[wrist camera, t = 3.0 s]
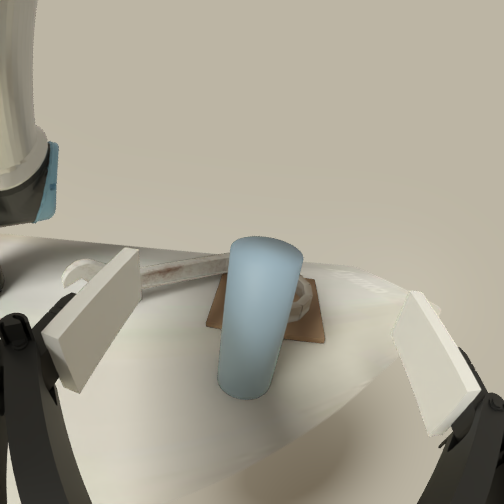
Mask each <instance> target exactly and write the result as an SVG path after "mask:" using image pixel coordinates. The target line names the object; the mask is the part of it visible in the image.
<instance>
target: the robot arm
mask: <svg viewBox="0 0 504 504" xmlns="http://www.w3.org/2000/svg"><path fill="white" fill-rule="evenodd" d="M37 1H38V0H0V227H6V226H12V225H18V224H25V223H36V222H37V221H42V220H47V219H50V218H51V217H52V216H53V215H54V213H55V210H56V183H57V167H58V151H59V146H58V144H57V143H53V142H47V138H46V135H45V132H43V130H42V129H41V128H40V127H38V126H37V125H35V118H34V105H33V81H32V78H33V76H32V64H33V39H34V26H35V16H36V8H37ZM3 285H4V276H3V273H2V269H1V266H0V291H1V289H2V287H3ZM141 299H142V293H141V279H140V262H139V249H133V248H127V247H125V248H123V249H122V250H121V251H120V252H119V253H118V254H117V255H116V256H115V257H114V258H113V259H112V260H111V261H110V262H109V263H107V264H106V265H105V266H104V267H103V268H102V269H101V270H100V271H99V272H98V273H97V274H96V275H95V276H94V277H93V278H92V279H91V280H90V281H89V282H88V283H87V284H86V285H85V286H84V287H83V288H82V289H81V290H80V291H79V292H78V293H77V294H75V293H70V294H68V295H66V296H64V297H62V298H61V299H60V300H59V301H58V302H57V303H56V304H55V305H54V307H52V308H51V309H50V310H49V313H48V312H47V313H46V314H45V315H44V316H43V318H42V319H41V320H40V321H39V322H38V323H37V324H36V325H35V326H34V327H33V328H32V329H31V327H30V324H29V321H28V318H27V317H26V316H25V315H24V314H21V313H12V314H9V315H6V316H5V317H3V318H2V319H1V320H0V338H1V340H0V504H7V493H6V470H7V449H8V443H9V450H10V456H11V461H12V467H13V472H14V476H15V481H16V485H17V489H18V493H19V497H20V500H21V504H92V502H91V500H90V497H89V495H88V493H87V490H86V488H85V485H84V483H83V480H82V477H81V475H80V472H79V469H78V466H77V463H76V460H75V457H74V454H73V451H72V448H71V444H70V441H69V438H68V434H67V430H66V427H65V423H64V419H63V415H62V410H61V406H60V401H59V397H58V392H57V388H56V386H55V382H56V381H57V379H58V378H60V380H61V382H62V385H63V387H65V388H67V389H69V390H72V391H74V392H76V393H79V394H80V392H81V391H82V389H83V387H84V386H85V384H86V383H87V381H88V379H89V378H90V376H91V374H92V373H93V371H94V370H95V368H96V366H97V365H98V363H99V362H100V360H101V359H102V357H103V355H104V354H105V352H106V351H107V349H108V348H109V346H110V345H111V343H112V342H113V340H114V338H115V337H116V335H117V334H118V332H119V331H120V329H121V328H122V326H123V325H124V323H125V322H126V320H127V319H128V318H129V316H130V315H131V313H132V312H133V310H134V309H135V307H136V306H137V304H138V303H139V302H140V300H141ZM391 337H392V339H393V341H394V344H395V346H396V349H397V351H398V354H399V356H400V359H401V361H402V364H403V366H404V369H405V371H406V374H407V377H408V379H409V382H410V385H411V387H412V390H413V393H414V395H415V398H416V401H417V404H418V407H419V409H420V413H421V416H422V419H423V422H424V425H425V428H426V431H427V434H428V437H430V436H436V435H442V434H443V433H444V432H445V431H446V430H447V429H448V428H449V427H450V426H451V427H452V430H453V432H452V433H451V434H450V435H449V436H448V437H447V438H446V439H445V440H444V441H443V442H442V443H441V444H440V445H439V448H441V447H442V446H443V445H444V444H445V447H444V449H443V452H442V454H441V457H440V459H439V461H438V463H437V466H436V468H435V470H434V472H433V474H432V476H431V478H430V480H429V482H428V484H427V486H426V488H425V490H424V492H423V494H422V496H421V497H420V499H419V501H418V503H417V504H504V400H503V399H502V398H501V397H500V396H499V395H497V394H495V393H488V392H487V390H486V388H485V386H484V384H483V383H482V381H481V379H480V377H479V375H478V373H477V372H476V371H475V368H474V366H473V365H472V364H471V361H470V360H469V358H468V356H467V354H466V353H465V352H464V351H463V350H462V349H461V348H460V347H457V346H456V344H455V342H454V341H453V339H452V337H451V336H450V334H449V332H448V331H447V329H446V328H445V326H444V324H443V323H442V321H441V320H440V318H439V317H438V315H437V314H436V312H435V311H434V309H433V308H432V306H431V305H430V303H429V302H428V300H427V299H426V297H425V296H424V294H423V293H422V292H418V291H409V293H408V296H407V298H406V300H405V303H404V305H403V307H402V310H401V312H400V314H399V317H398V319H397V321H396V323H395V325H394V327H393V330H392V332H391Z"/></svg>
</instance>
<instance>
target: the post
mask: <svg viewBox="0 0 504 504" xmlns="http://www.w3.org/2000/svg"><path fill="white" fill-rule="evenodd" d="M302 263H303V255H302V253H301V252H300V251H299V250H298V249H297V248H296V247H294V246H293V245H291V244H289V243H286V242H284V241H281V240H278V239H274V238H269V237H260V236H258V237H257V236H252V237H244V238H240V239H238V240H236V241H235V242H233V243H232V245H231V249H230V257H229V266H228V275H227V285H226V294H225V304H224V313H223V323H222V333H221V343H220V354H219V364H218V375H217V380H218V383H219V386H220V387H221V389H222V390H223V391H224V392H225V393H227V394H228V395H230V396H232V397H234V398H238V399H244V400H249V399H255V398H258V397H260V396H262V395H263V394H265V393H266V392H267V390H268V389H269V387H270V383H271V380H272V377H273V373H274V370H275V366H276V363H277V359H278V356H279V352H280V348H281V345H282V341H283V338H284V334H285V330H286V326H287V323H288V319H289V315H290V311H291V307H292V303H293V299H294V295H295V291H296V287H297V283H298V279H299V275H300V271H301V267H302Z"/></svg>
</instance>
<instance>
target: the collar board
mask: <svg viewBox="0 0 504 504" xmlns="http://www.w3.org/2000/svg"><path fill="white" fill-rule="evenodd" d="M227 275H228V273H224V274H223V275H222V278H221V280H220V283H219V286H218V289H217V292H216V295H215V298H214V301H213V304H212V306H211V309H210V312H209V315H208V318H207V321H206V326H208V327H213V328H219V329H222V323H223V313H224V304H225V294H226V285H227ZM283 339H290V340H298V341H306V342H315V343H324V340H325V336H324V330H323V324H322V318H321V312H320V307H319V301H318V295H317V290H316V285H315V280H314V279H308V278H303V277H302V276H301V275H299V279H298V283H297V287H296V291H295V295H294V299H293V303H292V307H291V311H290V315H289V319H288V323H287V326H286V330H285V334H284V338H283Z"/></svg>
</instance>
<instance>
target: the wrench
mask: <svg viewBox="0 0 504 504" xmlns="http://www.w3.org/2000/svg"><path fill="white" fill-rule="evenodd" d="M229 257H230V253H224V254H218V255H212V256H206V257H200V258H194V259H188V260H182V261H176V262H170V263H164V264H158V265H152V266H146V267H140V279H141V289H146V288H151V287H155V286H161V285H166V284H172V283H177V282H182V281H188V280H193V279H198V278H203V277H208V276H213V275H218V274H224V273H228V266H229ZM105 265H106V264H104V263H101V262H98V261H95V260H92V259H81V260H77V261H75V262H73V263H72V264H71V265H69V266H68V267H67V268H66V270H65V271H64V273H63V275H62V283H63V286H64V288H66V287H68V286H70V285H71V284H73V283H75V282H76V281H78V280H80V279H81V278H82V279H84V280H86V281H88V282H89V281H90V280H91V279H92V278H93V277H94V276H95V275H96V274H97V273H98V272H99V271H100V270H101V269H102V268H103V267H104V266H105Z"/></svg>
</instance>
